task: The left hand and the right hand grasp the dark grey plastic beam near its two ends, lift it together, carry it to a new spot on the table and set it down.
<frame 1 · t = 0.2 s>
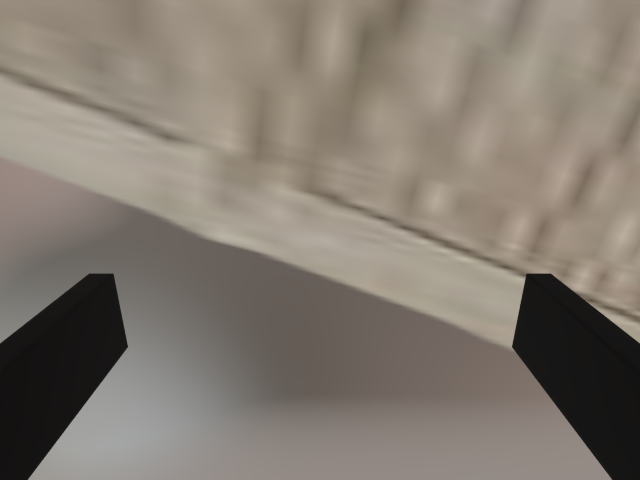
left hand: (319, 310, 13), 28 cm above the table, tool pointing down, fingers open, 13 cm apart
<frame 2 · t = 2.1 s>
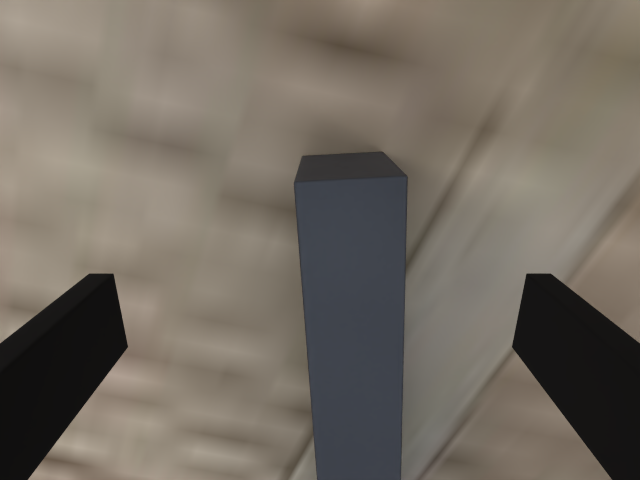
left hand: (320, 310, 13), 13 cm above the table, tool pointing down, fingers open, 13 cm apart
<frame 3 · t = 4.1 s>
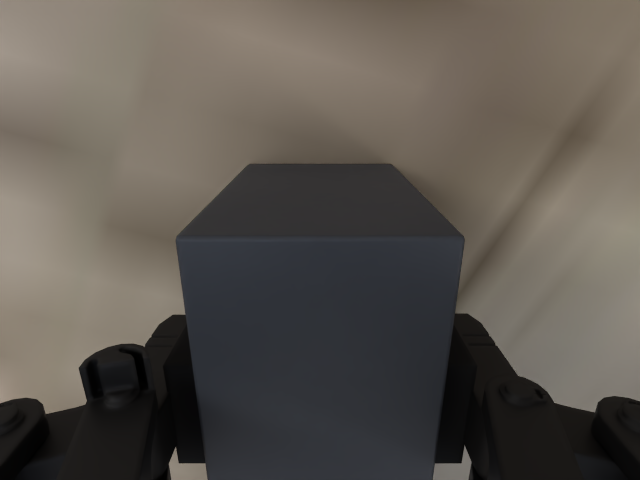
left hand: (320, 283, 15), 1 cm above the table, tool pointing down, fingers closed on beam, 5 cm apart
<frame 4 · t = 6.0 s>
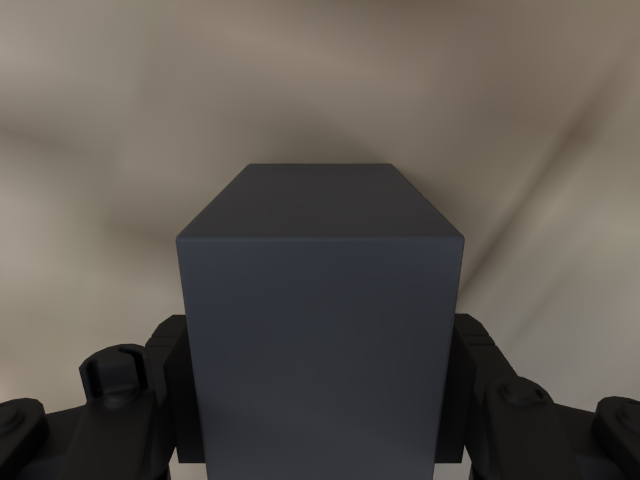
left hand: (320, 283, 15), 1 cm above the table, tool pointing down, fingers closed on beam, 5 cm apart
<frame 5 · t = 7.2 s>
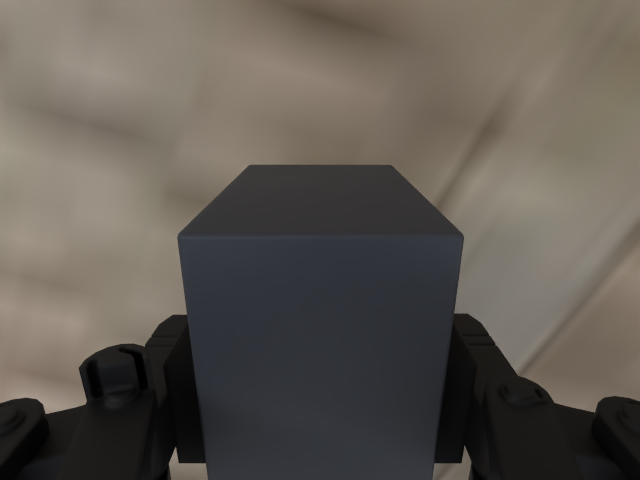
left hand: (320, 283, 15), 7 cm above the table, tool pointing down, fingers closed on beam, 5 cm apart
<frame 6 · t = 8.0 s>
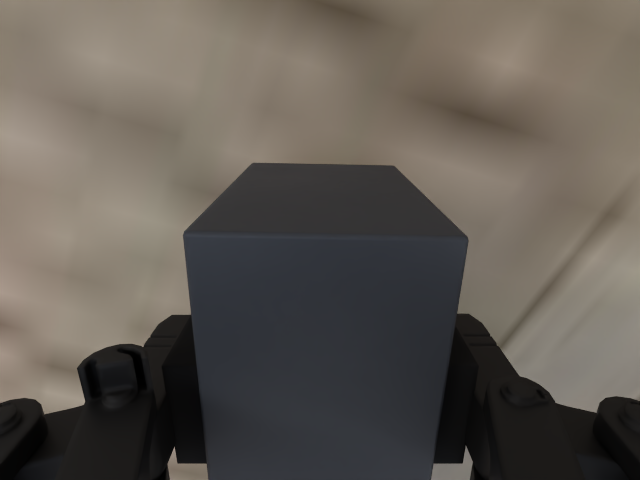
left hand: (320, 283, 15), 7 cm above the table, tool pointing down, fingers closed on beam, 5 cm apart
when the left hand's fingers open (2 cm above the table, at t = 10.2 s): beam drops 1 cm, on the table.
when the right hand's fingers open (4 cm above the table, at t = 10.4 s): beam stays where it is, on the table.
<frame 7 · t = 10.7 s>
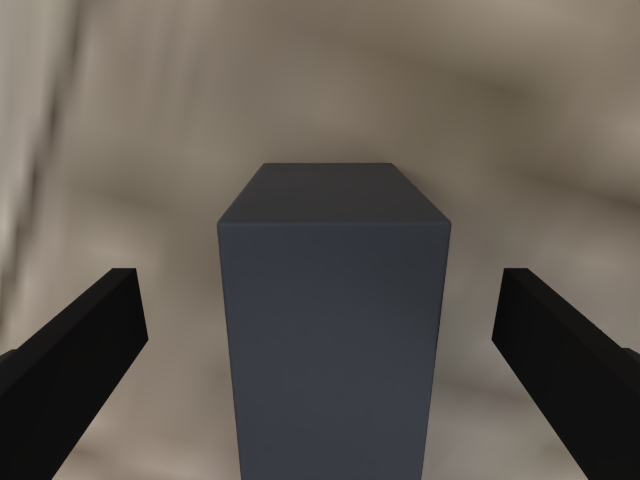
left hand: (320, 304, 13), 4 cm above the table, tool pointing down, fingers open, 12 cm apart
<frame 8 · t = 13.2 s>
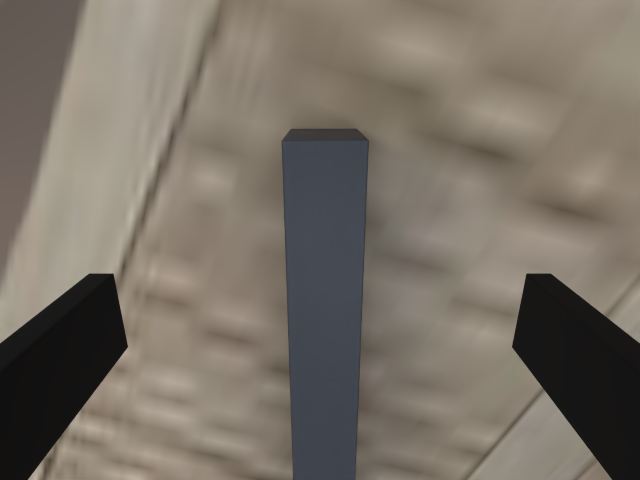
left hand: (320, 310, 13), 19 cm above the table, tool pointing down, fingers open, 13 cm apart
beam: (323, 423, 40), on the table
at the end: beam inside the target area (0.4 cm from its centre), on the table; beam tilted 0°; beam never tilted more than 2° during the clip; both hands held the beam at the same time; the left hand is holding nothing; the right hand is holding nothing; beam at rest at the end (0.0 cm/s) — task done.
